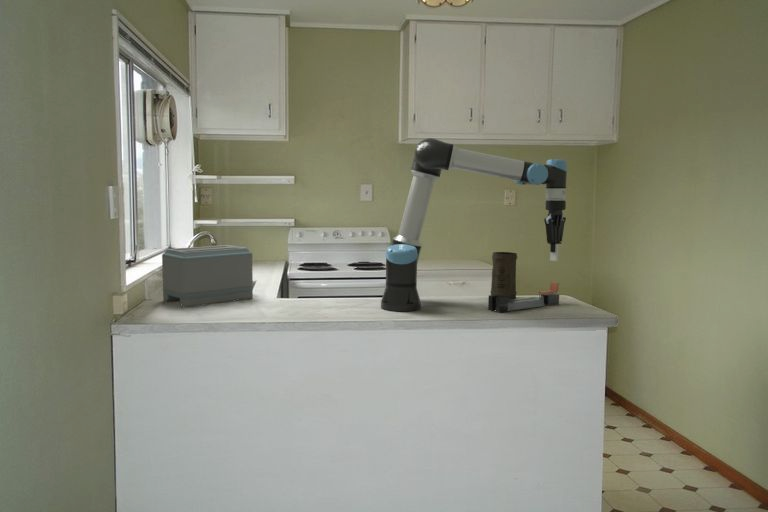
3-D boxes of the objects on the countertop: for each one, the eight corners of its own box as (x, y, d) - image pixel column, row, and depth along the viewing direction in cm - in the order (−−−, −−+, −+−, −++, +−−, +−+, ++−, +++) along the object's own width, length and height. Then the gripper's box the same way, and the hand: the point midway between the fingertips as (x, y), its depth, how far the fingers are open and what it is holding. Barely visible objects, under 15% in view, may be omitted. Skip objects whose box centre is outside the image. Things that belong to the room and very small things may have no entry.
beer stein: (516, 303, 249) (518, 253, 248) (489, 302, 251) (491, 252, 250) (516, 299, 264) (518, 251, 263) (490, 298, 266) (492, 251, 265)
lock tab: (552, 291, 252) (552, 281, 252) (558, 292, 250) (558, 282, 249) (537, 293, 248) (538, 283, 248) (543, 294, 245) (544, 284, 245)
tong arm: (539, 305, 246) (539, 291, 245) (543, 306, 244) (544, 292, 244) (495, 311, 233) (495, 297, 233) (499, 312, 231) (500, 298, 231)
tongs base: (549, 302, 254) (549, 288, 253) (558, 304, 250) (559, 290, 249) (488, 309, 237) (488, 295, 236) (497, 312, 232) (497, 297, 232)
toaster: (261, 297, 256) (261, 247, 253) (185, 308, 232) (183, 253, 230) (236, 291, 269) (236, 243, 266) (161, 301, 245) (160, 248, 243)
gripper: (556, 200, 236) (554, 262, 239) (572, 199, 245) (571, 259, 248) (538, 200, 241) (536, 261, 244) (555, 199, 251) (553, 258, 253)
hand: (554, 260), depth 246 cm, fingers closed
